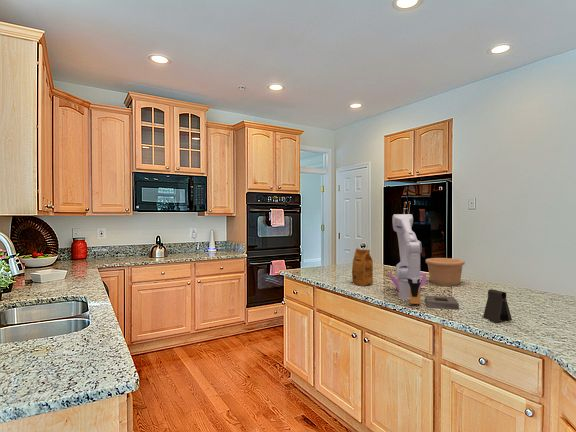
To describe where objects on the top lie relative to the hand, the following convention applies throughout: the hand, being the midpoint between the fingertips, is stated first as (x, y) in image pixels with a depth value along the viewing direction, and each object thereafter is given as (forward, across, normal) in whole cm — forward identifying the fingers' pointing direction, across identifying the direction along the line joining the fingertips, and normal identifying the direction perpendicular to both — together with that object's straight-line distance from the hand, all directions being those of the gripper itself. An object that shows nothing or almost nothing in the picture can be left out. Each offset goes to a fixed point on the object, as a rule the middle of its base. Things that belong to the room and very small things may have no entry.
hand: (414, 295), depth 164 cm
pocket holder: (+5, +2, -12) cm, 13 cm away
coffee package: (+5, +44, +28) cm, 52 cm away
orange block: (+3, 0, 0) cm, 3 cm away
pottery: (+5, +57, -21) cm, 61 cm away
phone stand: (+5, -15, -31) cm, 35 cm away
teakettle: (+5, +34, +2) cm, 34 cm away
